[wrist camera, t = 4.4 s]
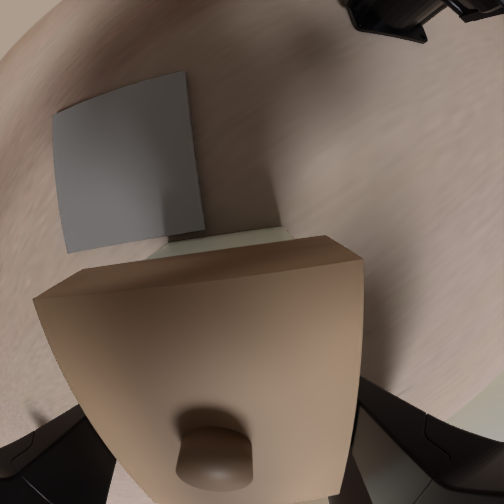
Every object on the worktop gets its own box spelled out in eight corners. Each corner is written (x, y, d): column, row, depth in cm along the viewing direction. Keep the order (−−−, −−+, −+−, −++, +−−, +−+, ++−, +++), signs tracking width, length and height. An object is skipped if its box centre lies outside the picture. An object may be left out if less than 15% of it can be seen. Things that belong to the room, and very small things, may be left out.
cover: (325, 235, 7) (388, 275, 4) (326, 449, 9) (344, 513, 6) (82, 269, 7) (6, 316, 4) (165, 460, 9) (151, 521, 6)
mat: (186, 73, 14) (184, 70, 14) (206, 228, 17) (204, 229, 16) (57, 117, 14) (52, 115, 14) (72, 251, 17) (67, 253, 16)
